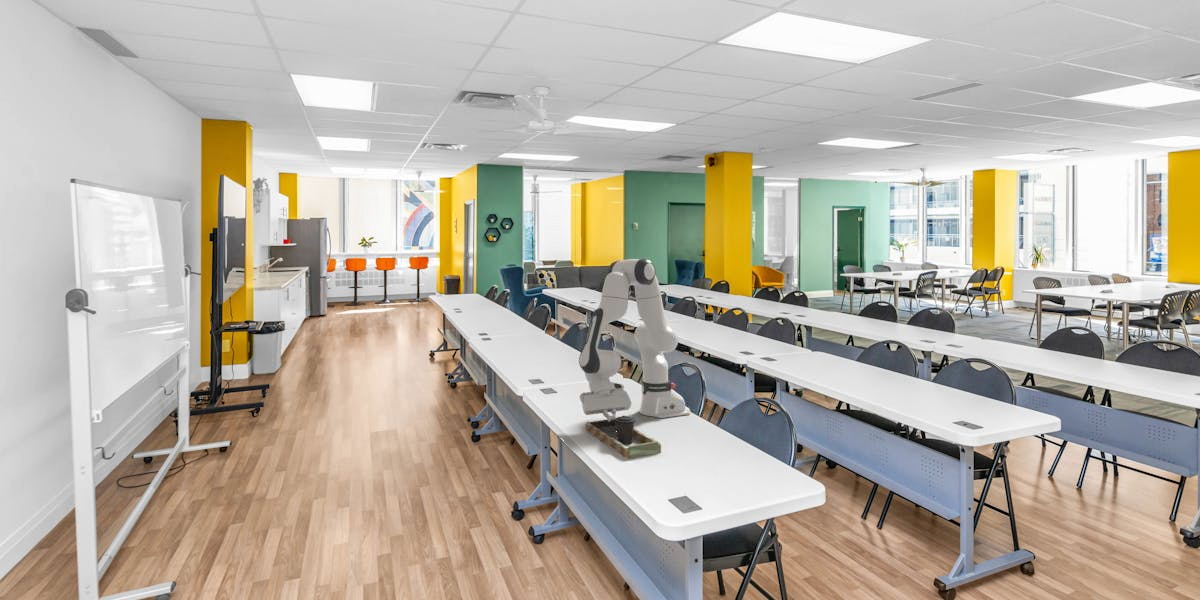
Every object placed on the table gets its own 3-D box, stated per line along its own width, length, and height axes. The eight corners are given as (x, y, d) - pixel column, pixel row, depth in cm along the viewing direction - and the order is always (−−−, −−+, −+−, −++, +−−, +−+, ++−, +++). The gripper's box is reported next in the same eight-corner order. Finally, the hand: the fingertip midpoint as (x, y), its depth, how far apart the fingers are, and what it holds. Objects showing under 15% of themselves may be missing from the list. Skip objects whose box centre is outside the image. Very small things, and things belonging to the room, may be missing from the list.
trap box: (585, 429, 257) (585, 420, 257) (616, 425, 263) (616, 415, 263) (627, 458, 225) (627, 447, 224) (660, 452, 231) (661, 441, 230)
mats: (592, 430, 256) (592, 430, 256) (614, 427, 260) (614, 426, 260) (604, 438, 246) (604, 438, 246) (627, 435, 250) (627, 434, 250)
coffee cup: (624, 437, 247) (624, 413, 246) (639, 442, 241) (639, 417, 240) (609, 442, 241) (609, 417, 240) (625, 448, 236) (625, 421, 234)
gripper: (580, 389, 250) (590, 419, 242) (626, 384, 259) (637, 413, 251) (576, 397, 254) (586, 427, 247) (621, 392, 263) (632, 421, 255)
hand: (612, 420), depth 249 cm, fingers closed
